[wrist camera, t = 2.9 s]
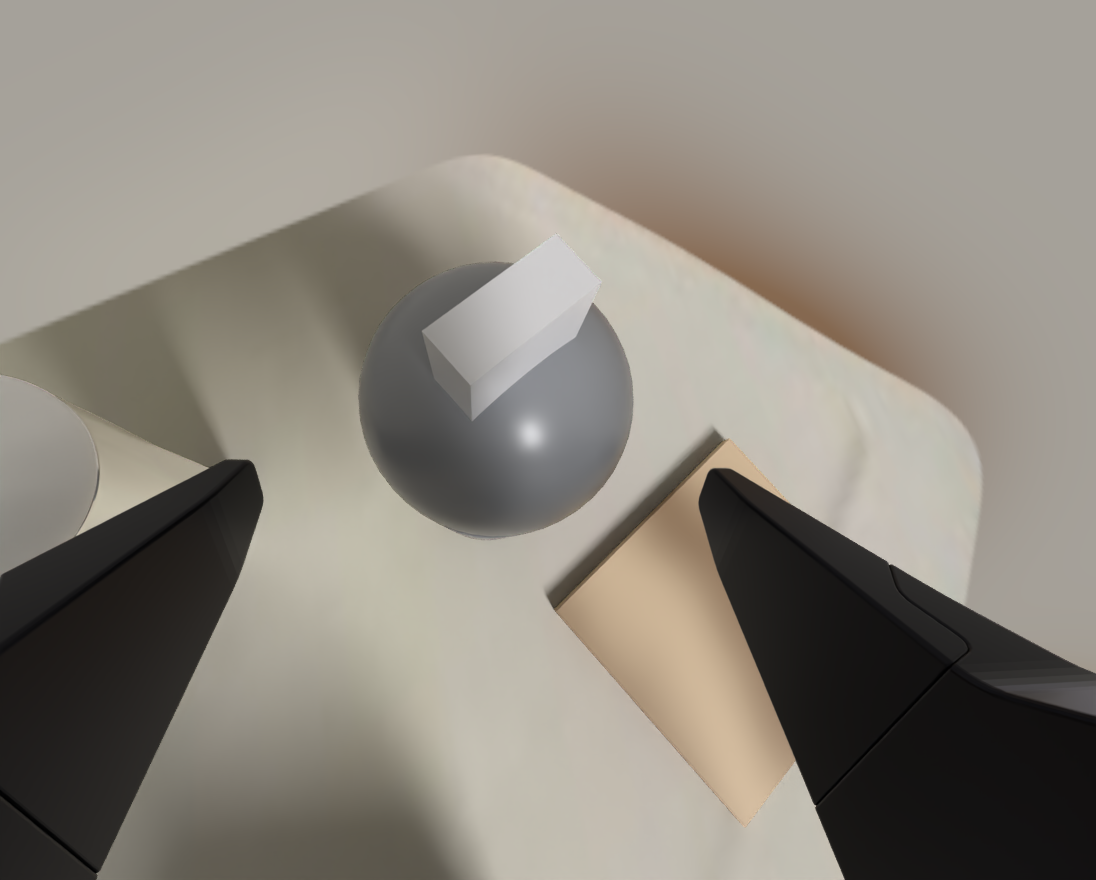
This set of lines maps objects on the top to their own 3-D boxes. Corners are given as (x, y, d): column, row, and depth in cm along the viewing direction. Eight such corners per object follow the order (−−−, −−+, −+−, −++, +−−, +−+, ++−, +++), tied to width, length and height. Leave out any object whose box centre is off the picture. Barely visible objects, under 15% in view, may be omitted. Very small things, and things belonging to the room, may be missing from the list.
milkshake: (93, 468, 17) (-437, 367, 7) (256, 438, 18) (-10, 314, 8) (101, 599, 16) (-482, 689, 6) (272, 560, 17) (-2, 585, 7)
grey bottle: (481, 567, 18) (493, 640, 5) (395, 469, 18) (171, 266, 5) (575, 480, 19) (804, 337, 6) (494, 389, 19) (532, 54, 6)
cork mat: (736, 818, 17) (745, 827, 17) (553, 609, 18) (556, 611, 17) (887, 618, 20) (899, 621, 19) (722, 441, 20) (729, 438, 20)
